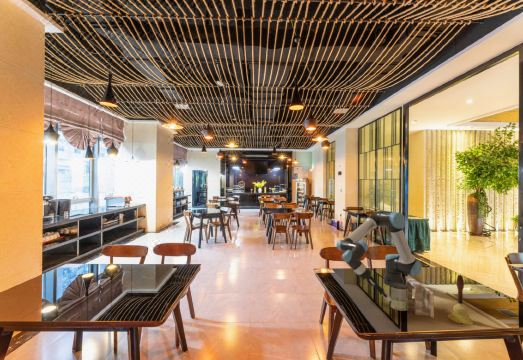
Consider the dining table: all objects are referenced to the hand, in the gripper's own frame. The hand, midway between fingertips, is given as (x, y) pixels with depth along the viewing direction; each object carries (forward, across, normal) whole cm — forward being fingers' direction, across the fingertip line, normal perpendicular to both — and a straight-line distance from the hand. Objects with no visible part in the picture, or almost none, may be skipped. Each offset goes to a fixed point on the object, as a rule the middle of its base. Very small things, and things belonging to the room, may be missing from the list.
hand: (390, 300), depth 171 cm
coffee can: (+8, -2, +1) cm, 8 cm away
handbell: (+29, +8, +22) cm, 37 cm away
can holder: (+15, -1, +9) cm, 18 cm away
